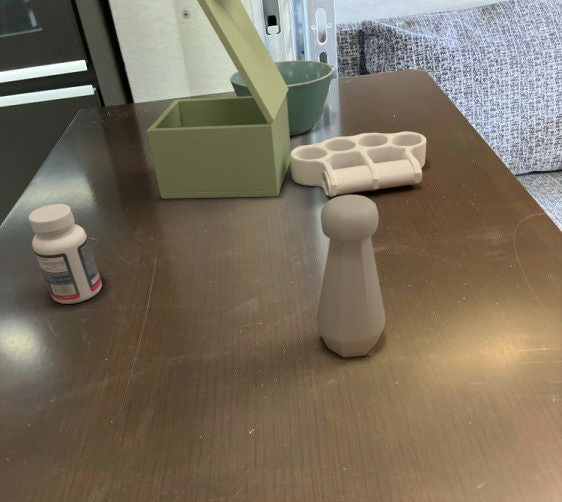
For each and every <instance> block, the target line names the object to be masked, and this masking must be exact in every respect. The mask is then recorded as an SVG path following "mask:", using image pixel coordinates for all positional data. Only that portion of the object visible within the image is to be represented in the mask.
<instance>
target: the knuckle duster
mask: <svg viewBox="0 0 562 502" xmlns="http://www.w3.org/2000/svg"><path fill="white" fill-rule="evenodd" d="M426 152H427V138H426V136H425V135H423V134H422V133H418V132H415V131H400V132H393V133H384V132H383V133H381V132H362V133H360V134H359V133H358V134H356V135H350V136H349V135H348V136H335V137H332V138H331V137H330V138H327V139H325V140H323V141H320V142H317V143H313V144H306V145H305V144H304V145H303V144H302V145H299V146H297V147H295V148H293V149H292V150H291V154H290V159H291V161H290V171H291V172H290V173H291V179H292V181H293V182H294V183H295V184H298V185H300V186H305V187H307V186H309V187H320V188H322V189H323V191H324V193H325V195H326V196H327V197H330V198H334V197H336V196H337V195H347V194H353V193H361V192H367V191H368V192H369V191H370V192H374V191H377V190H381V189H389V188H390V189H391V188H396V187H402V186H403V187H404V186H417V185H418V184H421V183H422V182H423V170H422V169H423V168H424V166H425V164H426V154H427V153H426Z"/></svg>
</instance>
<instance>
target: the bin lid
mask: <svg viewBox="0 0 562 502" xmlns="http://www.w3.org/2000/svg"><path fill="white" fill-rule="evenodd" d="M196 1H197V2H198V5H199V6H200V8H201V10H202V11H203V13H204V15H205V16H206V19H207V20H208V22H209V24H210V25H211V27H212V29H213V30H214V32H215V34H216V35H217V38H218V39H219V41H220V42H221V44H222V46H223V47H224V50H225V51H226V53H227V54H228V56H229V59H230V60H231V61H232V63H233V65H234V67H235V69H236V70H237V72H239V74H240V75H241V77H242V79H243V81H244V82H245V84H246V86H247V87H248V89H249V91H250V93H251V94H252V96H253V98H254V100H255V101H256V103H257V105H258V107H259V108H260V110H261V112H262V113H263V115H264V117H265V119H266V120H267V122H268V123H270V122H272V121H274V119H275V117H276V114H277V112H278V110H279V108H280V106H281V104H282V102H283V100H284V98H285V96H286V94H287V91H288V87H287V85H286V83H285V82H284V80H283V78H282V76H281V74H280V72H279V71H278V69H277V67H276V65H275V63H274V62H275V61H274V60H273V58H272V55H271V54H270V52H269V50H268V49H267V46H266V45H265V43H264V40H263V39H262V37H261V36H260V34H259V32H258V29H257V28H256V27H255V24H254V23H253V20H252V19H251V17H250V16H249V13H248V12H247V10H246V8H245V6H244V4H243V2H242V1H241V0H196Z"/></svg>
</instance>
